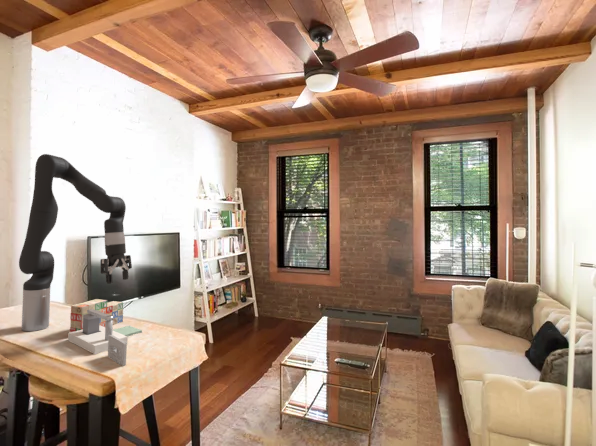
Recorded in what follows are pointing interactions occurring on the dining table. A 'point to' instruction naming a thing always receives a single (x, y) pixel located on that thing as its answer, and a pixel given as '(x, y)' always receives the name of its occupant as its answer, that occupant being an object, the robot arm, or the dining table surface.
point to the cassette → (117, 350)
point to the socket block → (96, 338)
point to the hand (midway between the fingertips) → (117, 281)
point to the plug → (90, 324)
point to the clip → (100, 314)
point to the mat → (128, 330)
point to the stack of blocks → (99, 305)
